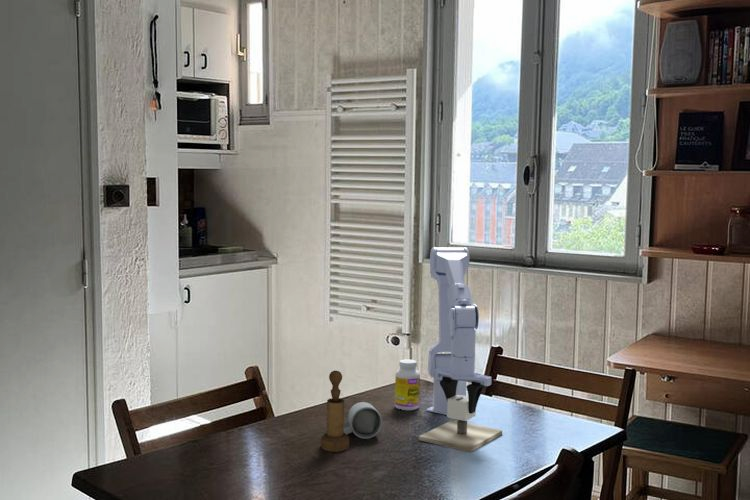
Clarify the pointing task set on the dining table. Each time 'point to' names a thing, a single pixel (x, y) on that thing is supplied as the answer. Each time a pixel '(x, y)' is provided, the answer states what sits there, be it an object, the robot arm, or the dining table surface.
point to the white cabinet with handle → (459, 408)
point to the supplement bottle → (407, 385)
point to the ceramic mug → (363, 421)
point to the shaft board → (461, 435)
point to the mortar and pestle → (335, 419)
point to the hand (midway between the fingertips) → (461, 410)
